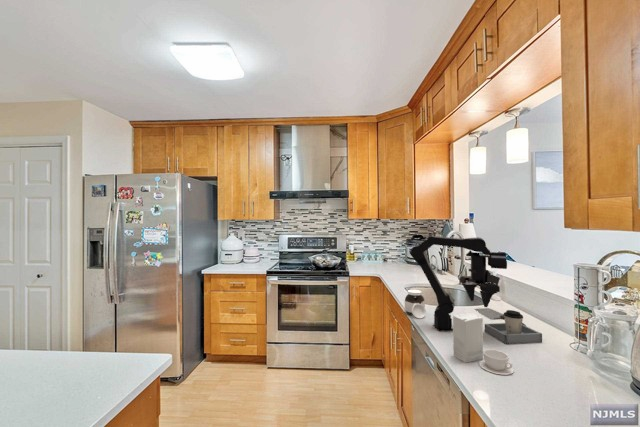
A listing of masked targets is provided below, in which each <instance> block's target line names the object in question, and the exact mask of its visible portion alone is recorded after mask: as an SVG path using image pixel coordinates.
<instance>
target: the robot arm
mask: <svg viewBox="0 0 640 427" xmlns="http://www.w3.org/2000/svg"><path fill="white" fill-rule="evenodd" d="M434 245H436V246H444V247H452V248H453V247H455V248H463V249H466V250H469V251H468V252H467V253H466V254H465V256H466V257H470V268H468V271H469V272H470V275H462V276H461V277H459V283H460V284H461V286H463V288H464V290H465V292H466V294H467V296H468V298H469V300H470V301H471V302H474V299H475V291H476V290H475V289H476V288H477V287H479V289H480V290H479V293H480V297H481V300H482V304H483V306H484V308H488V306H489V304H490V302H491V300H492V297H493V295H495V294H498V293H501V292H500V290H501V287H500V285H499V282H500V279H501V278H500V277H498V276H497V275H493V274H491V272H490V271H489V270H488V269H487V266H490V268H491V269H500V270H501V269H502V270H507V268H508V261H507V254H506V252H505V251H504V252H503V251H500V252H498V251H496V252H495V251H491V249H489V248H488V247H487V243H486V241H485V240H484V239H483V238H482V237H477V236H476V237H466V238H460V237H459V238H458V237H446V236H436V235H430V236H428V237H427V239H425V240H424V241H422V242H421V243H420V244H417V245H415V246H413V247H412V248H411V249H410V250H409V252H410V256H411V258H413V260H414V261H415V263H416V264H418V265H419V266H420V268H421V270H422V271H423V273H424V275H425V278H426V279H427V281H428V283H429V285H430V286H431V288H432V290H433V292H434V294H435V296H436V301H437V304H438V305H436V308H435V309H434V311H433V312H434V314H433V319H434V320H433V323H434V324H432V327H433V328H434V329H436V330H437V331H438V332H450V331H451V332H453V323H452V322H453V318H452V315H451V314H452V313H453V312H454V310H455V301H456V299H455V298H454V297H453V296H452V293H451V291H450V292H448V293H447V291H445V289H444V288H443V286H442V283H441V282H440V280H439V278H438V277H437V274H436V273H435V271H434V269H433V267H432V266H431V264H430V262H429V258H428V255H427V254H428V253H427V250H429V249H430V248H432V246H434ZM480 253H482V254H480Z"/></svg>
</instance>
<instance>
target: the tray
mask: <svg viewBox="0 0 640 427" xmlns="http://www.w3.org/2000/svg"><path fill="white" fill-rule="evenodd" d="M484 333H486V334H488V335H489V336H491V337H493V338H495V339H496V340H498V341H499V342H500V343H503V344H504V345H518V344H519V345H521V344H538V343H539V344H540V343H541V344H542V343H543V333H542V332H539V331H538V330H535V329H533V328H531V327H528V326H527V325H526V326H524V325H522V328H521V334H507V332H506V325H505V322H499V323H498V322H497V323H496V322H495V323H493V322H492V323H484Z"/></svg>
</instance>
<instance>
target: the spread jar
mask: <svg viewBox="0 0 640 427" xmlns="http://www.w3.org/2000/svg"><path fill="white" fill-rule="evenodd" d="M422 294H423V293H422V290H418V289H408V290H407V295H406V296H405V297H404V310H405V312H406V314H408V315H410V316H413V317H415V318H417V319H422V318H424V317H425V316H426V311H427V310H426V302H425V297H424V296H423V295H422Z"/></svg>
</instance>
